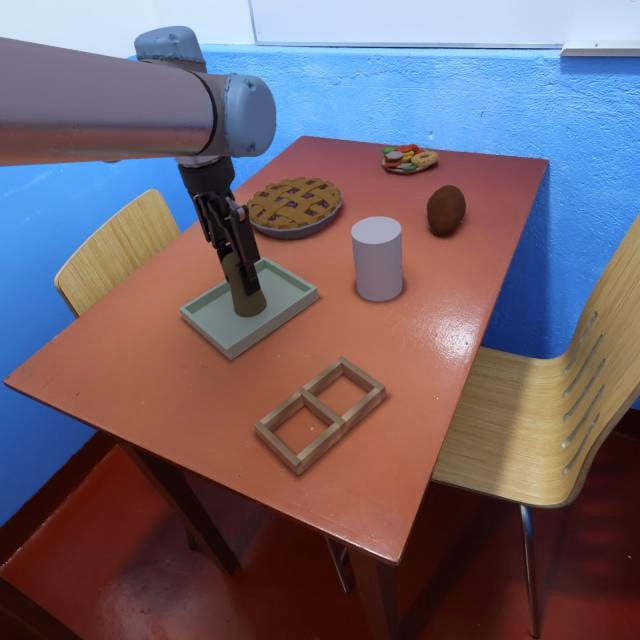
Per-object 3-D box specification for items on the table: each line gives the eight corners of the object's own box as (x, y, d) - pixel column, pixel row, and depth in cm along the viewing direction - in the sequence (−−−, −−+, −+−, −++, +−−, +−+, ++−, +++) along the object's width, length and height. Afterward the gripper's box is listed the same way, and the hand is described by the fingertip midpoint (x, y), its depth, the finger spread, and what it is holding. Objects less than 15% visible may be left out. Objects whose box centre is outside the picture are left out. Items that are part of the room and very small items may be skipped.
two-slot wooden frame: (298, 476, 60) (295, 466, 58) (257, 435, 65) (253, 425, 63) (386, 397, 67) (385, 386, 65) (343, 366, 72) (341, 355, 70)
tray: (230, 360, 76) (226, 349, 74) (183, 318, 86) (178, 308, 84) (319, 298, 85) (317, 287, 83) (267, 266, 94) (264, 256, 92)
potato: (420, 238, 94) (420, 203, 88) (431, 208, 101) (432, 174, 96) (459, 241, 91) (462, 205, 86) (467, 211, 99) (470, 175, 93)
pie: (302, 253, 96) (298, 232, 92) (229, 228, 107) (223, 209, 103) (362, 203, 107) (360, 183, 104) (290, 185, 118) (286, 166, 115)
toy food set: (443, 169, 114) (444, 156, 111) (391, 181, 113) (390, 168, 110) (422, 148, 123) (422, 136, 121) (374, 159, 122) (373, 147, 120)
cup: (411, 288, 83) (411, 230, 75) (373, 307, 81) (369, 250, 73) (384, 267, 89) (381, 211, 81) (348, 284, 86) (341, 228, 78)
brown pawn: (273, 300, 85) (260, 250, 77) (252, 321, 82) (236, 271, 74) (248, 291, 88) (233, 242, 80) (227, 311, 84) (209, 261, 77)
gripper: (262, 161, 62) (293, 295, 77) (192, 133, 73) (232, 256, 88) (215, 184, 59) (257, 319, 74) (149, 152, 70) (198, 275, 85)
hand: (243, 285), depth 81 cm, fingers closed on brown pawn, 5 cm apart
